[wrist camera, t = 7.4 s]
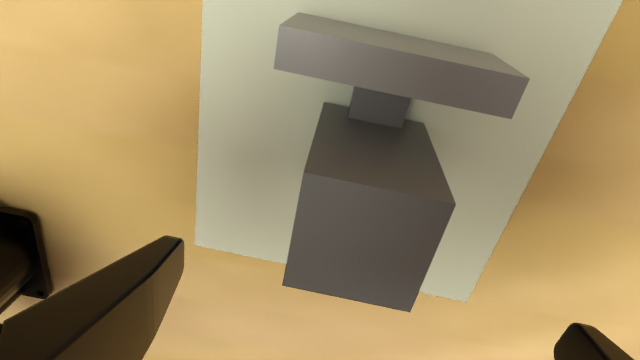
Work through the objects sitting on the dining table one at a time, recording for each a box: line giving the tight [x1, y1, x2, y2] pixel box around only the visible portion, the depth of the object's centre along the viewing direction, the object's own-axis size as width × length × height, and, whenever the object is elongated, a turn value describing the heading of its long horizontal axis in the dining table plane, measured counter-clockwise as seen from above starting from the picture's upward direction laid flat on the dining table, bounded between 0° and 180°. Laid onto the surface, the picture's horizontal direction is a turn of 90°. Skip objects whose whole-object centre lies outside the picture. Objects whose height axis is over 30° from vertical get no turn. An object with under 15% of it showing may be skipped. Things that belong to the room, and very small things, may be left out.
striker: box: [274, 12, 530, 312], centre depth 13 cm, size 7×7×6 cm
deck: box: [195, 0, 623, 302], centre depth 15 cm, size 21×14×2 cm, turn 169°
